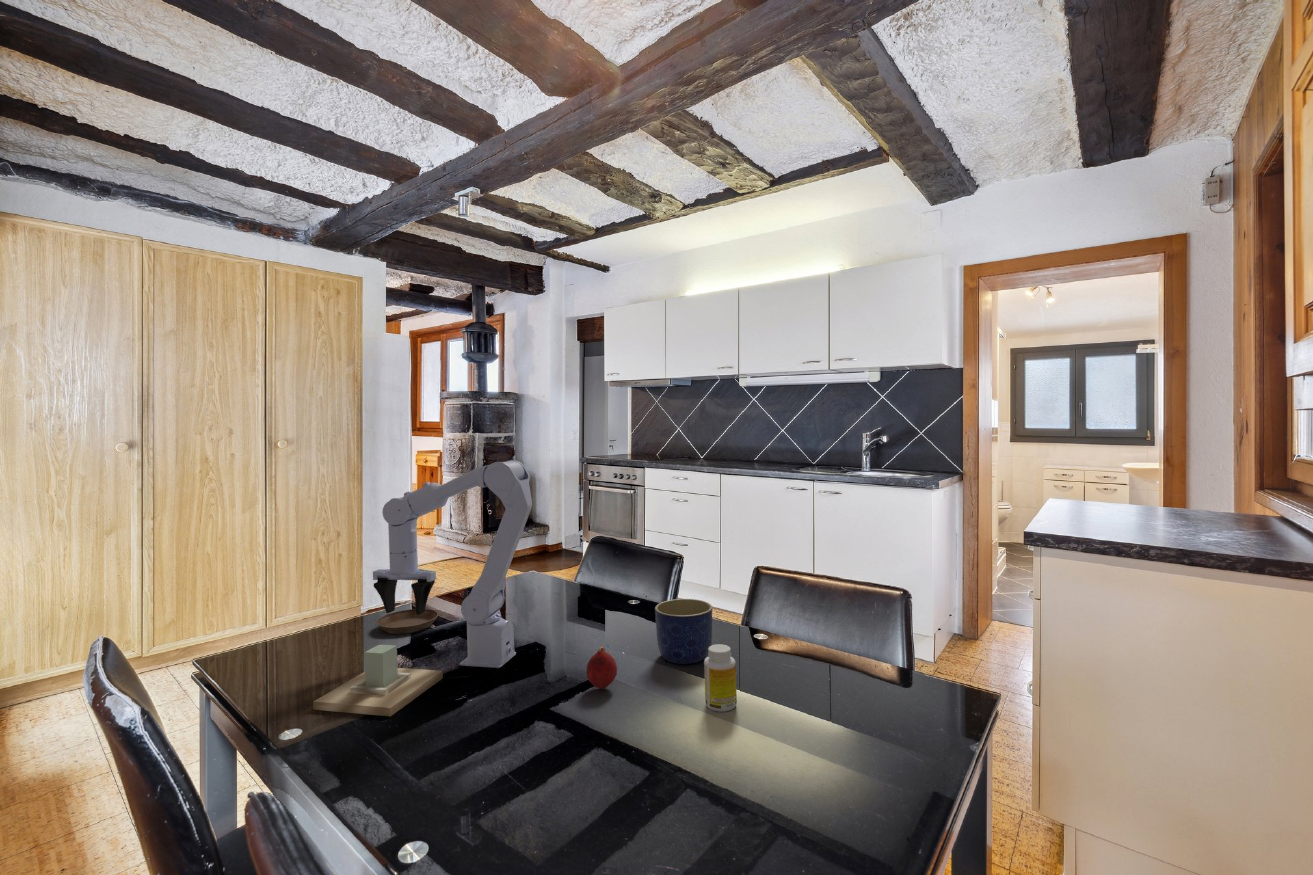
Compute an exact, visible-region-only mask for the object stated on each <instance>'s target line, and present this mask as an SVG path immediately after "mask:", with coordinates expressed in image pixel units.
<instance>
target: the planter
mask: <svg viewBox="0 0 1313 875" xmlns="http://www.w3.org/2000/svg"><path fill="white" fill-rule="evenodd" d="M654 612H655V613H654V615H655V629H656V631H655V632H656V639H657V646H658V651H659V654H660V655H661V656H662V658H663V659H665V661H668V662H669V663H673V664H679V665H688V664H689V665H691V664H696V663H699V662H701V661H703V660H705V659H706V658H707V657H708V648H709V647H710V646H712V643H713V642H712V640H713V605H712V604H711V603H709V602H707V601H705V600H700V599H694V598H675V599H669V600H665V601H662V602H659V603H657V605H655V607H654Z"/></svg>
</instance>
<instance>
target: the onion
mask: <svg viewBox="0 0 1313 875" xmlns="http://www.w3.org/2000/svg"><path fill="white" fill-rule="evenodd" d="M617 674H618V666H617V662H616V660H615V659H614V657H613V656H612V655H611V654H610V653H608V652H606V648H605V647H603V646H600V647H599V648H598V649H597V652H596V653H594V654H593V655H592V656H591V657H590V659H589V660H588V662H587V665H586V677H587V679H588V681H589V683H590V684H592V685H593V687H595V688H598V689H599V690H601V691H602V690H605V689H607V687H608V686H609V685H611V684H612V683H613V682H614V680H615V678H616V677H617Z"/></svg>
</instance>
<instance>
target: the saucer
mask: <svg viewBox="0 0 1313 875" xmlns="http://www.w3.org/2000/svg"><path fill="white" fill-rule="evenodd" d="M438 616H439V612H438V611H436V610H434V609H429V608H425V612H423V613H421V614H419V615H418V614H416V608H412V609H404V610H399V611H398V610H397V611H393V612H390V613H386V615H383V616H381V617H379V618H378V619H376V620H377V621H376V624H377V626H378V627H379V628H380V629H381V630H382V631H384V632H385V633H388V634H393V635H403V634H405V635H406V634H410V633H416V632H420V631H422V630H425V629H428V628H429V627H430V626H431V625H432V624H434V622H435V621H436V619H437V618H438Z"/></svg>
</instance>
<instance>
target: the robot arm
mask: <svg viewBox="0 0 1313 875" xmlns="http://www.w3.org/2000/svg"><path fill="white" fill-rule="evenodd" d="M530 479H531V476H530V474H529V472H528V470H527V469H526V466H525V465H524V464H523V463H522V462H520V461H519V460H515V459H511V460H507V461H495V462H493V463H491V464H488V465H483V466H480V467H476V468H474V469H471V470H470V471H468V472H465V473H464V474H462V475H460V476H458V477H455V478H454V479H451V480H449V481H448V482H446V483H443V484H442V483H441V484H440V483H437V482H431V481H428V482H425V483H422V485H421V486H422V487H421V488H418V489H415V490H414V491H406V492H404V493H403V496H402V497H394V498H391V499H389V500H388V501H386V502H385V504H384V505H383V508H382V517H383V520H385V522H386V523H387V526H388V548H389V550H388V552H389V555H388V557H389V569H388V568H386V569H384V568H383V569H376V570H373V571H372V581H376V582H374V583H373V587H374V589H375V591H377V593H378V595H379V597H380V599H381V601H382V604H383V607H384V611H385V613H386V614H390V613H393V612H395V611H396V610H395V609H396V590H397V583H398V581H416V582H413V583H411V585H410V586H411V589H412V592H413V595H414V601H415V603H414V604H415V606H414V608H415V609H416V614H418V615H419V614H421V613H423V612H425V609H426V607H427V603H428V598H429V597H430V596H429V595H430V593H431V591H432V589H433V586H434V585H435V581H436V580H437V576H436V575H437V573H436V572H437V571H436V570H429V569H423V568H419V564H418V563H419V560H418V534H417V532H418V530H417V528H418V527H417V525H418V519H419V518H420V517H423V516H424V515H426V514H429V513H432V512H434V511H437V510H438V509H441V508H444V507H445V506H446V504H447V503H448V499H449V498H452V497H454V496H456V495H458V494H460V493H463V492H466V491H469V490H471V489H474V488H476V487H478V488H479V487H480V488H488V489H489V491H491V492H492V493H493V494H494V495H496V496H497V497H498V498H499V499H500V501H501V503H502V505H503V507H504V508H505V509H504V512H503V515H502V518H501V521H500V523H499V526H498V529H497V532H496V534H495V536H494V539H493V541H492V545H491V547H490V549H489V552H488V555H487V558H486V560H485V564H484V566H483V569H482V572H481V574H480V576H479V578H478V579H477V581H476V582H475V584H474V585H473V586H472V589H471V591H470V593H469V594H468V595H467V596H466V597H465V598H464V600H463V601H462V602H461V606H460V613H461V615H462V616H463V618H464V620H465V621H466V636H467V637H466V638H467V641H466V642H467V657H466V658H465V659H463V660H462V661H461V662H459V666H464V667H481V668H495V669H499V668H501V667H503V666H504V665H505V664H506V663H507V662H509V661H510V660H511V659H512V658H514V656H516V654H517V652H516V651H515V631H514V630H515V629H514V625H513V622H512V621H511V620H507V619H504V618H503V617H502V614H501V611H500V610H501V608H502V607H503V605H504V603H505V588H506V587H507V586H506V585H507V583H506V576H507V574H508V572H509V569H510V566H511V563H512V561H513V558H514V555H515V552H516V549H517V548H518V545H519V542H520V540H521V537H522V534H523V531H524V530H525V527H526V523H527V521H528V518H529V515H530V513H531V510H532V509H533V508H532V507H533V500H532V495H531V487H530Z"/></svg>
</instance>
